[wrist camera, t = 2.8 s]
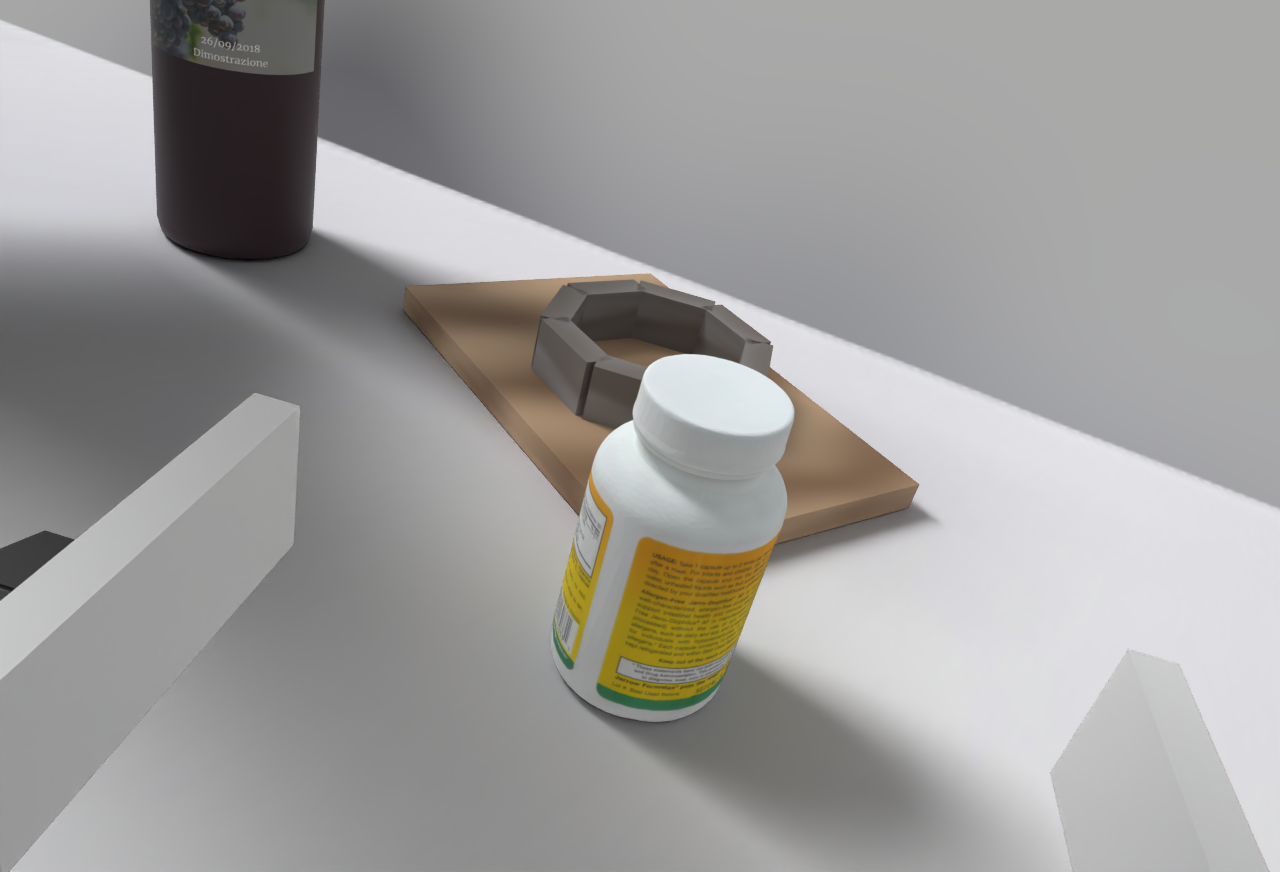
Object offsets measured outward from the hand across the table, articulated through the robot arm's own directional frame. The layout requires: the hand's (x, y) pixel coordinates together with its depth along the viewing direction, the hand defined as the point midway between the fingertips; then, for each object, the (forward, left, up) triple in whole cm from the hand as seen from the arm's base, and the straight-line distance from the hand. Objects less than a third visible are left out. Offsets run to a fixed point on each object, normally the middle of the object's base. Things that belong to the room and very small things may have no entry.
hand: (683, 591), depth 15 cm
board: (-20, +16, -11) cm, 28 cm away
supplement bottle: (-7, +7, -11) cm, 15 cm away
